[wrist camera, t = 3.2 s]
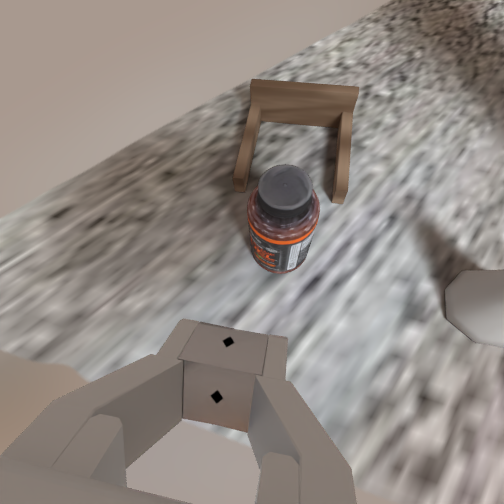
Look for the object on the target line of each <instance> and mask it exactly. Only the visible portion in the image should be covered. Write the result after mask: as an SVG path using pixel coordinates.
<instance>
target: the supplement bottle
mask: <svg viewBox="0 0 504 504" xmlns="http://www.w3.org/2000/svg"><path fill="white" fill-rule="evenodd" d="M319 212H320V204H319V199H318V197H317V195H316V193H315V192H314V190H313V185H312V181H311V179H310V177H309V175H308V174H307V173H306V172H305V171H304V170H303V169H300V168H299V167H296V166H294V165H286V164H285V165H277V166H274V167H272V168H270V169H268V170H267V171H266V172H265V173H264V174H263V175H262V176H261V178H260V180H259V183H258V186H257V187H256V188H255V189H254V190H253V192H252V193H251V195H250V197H249V200H248V204H247V214H248V224H249V232H250V241H251V248H252V253H253V256H254V258H255V260H256V262H257V263H258V264H259V265H260V266H261V267H262V268H264V269H265V270H267V271H270V272H273V273H278V274H281V273H287V272H291V271H293V270H295V269H297V268H298V267H299V266H300V265H301V264H302V263H303V262H304V260H305V258H306V256H307V253H308V250H309V247H310V244H311V240H312V237H313V234H314V231H315V228H316V225H317V222H318V218H319Z"/></svg>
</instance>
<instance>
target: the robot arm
mask: <svg viewBox="0 0 504 504" xmlns="http://www.w3.org/2000/svg"><path fill="white" fill-rule="evenodd" d="M268 336H269V338H268ZM287 346H288V338H287V337H283V336H276V335H266V334H260V333H255V332H249V331H243V330H237V329H234V328H229V327H224V326H219V325H214V324H209V323H204V322H199V321H194V320H188V319H182V320H180V321H179V322H178V324H177V325H176V327H175V328H174V330H173V331H172V333H171V334H170V336H169V337H168V339H167V340H166V342H165V343H164V344H163V346H162V347H161V349H160V350H159V352H158V353H157V355H153V354H150V355H148V356H146V357H144V358H142V359H140V360H138V361H136V362H133V363H131V364H129V365H127V366H125V367H123V368H121V369H119V370H117V371H114V372H112V373H110V374H108V375H106V376H104V377H102V378H100V379H98V380H96V381H93V382H91V383H89V384H87V385H85V386H83V387H81V388H79V389H77V390H75V391H72V392H70V393H68V394H66V395H64V396H62V397H60V398H58V399H56V400H53V401H52V402H51V403H50V404H49V405H48V406H47V407H46V408H45V409H44V410H43V411H42V412H41V413H40V415H39V416H38V417H37V418H36V419H35V420H34V421H33V422H32V423H31V424H30V425H29V426H28V427H27V428H26V429H25V430H24V431H23V432H22V433H21V435H19V436H18V438H16V440H15V441H14V442H13V443H12V444H11V445H10V446H9V447H8V448H7V449H6V450H5V451H4V452H3V453H2V454H1V455H0V504H191V503H187V502H183V501H179V500H175V499H171V498H167V497H163V496H159V495H155V494H151V493H147V492H142V491H139V490H134V489H131V488H127V485H126V484H127V483H126V468H127V467H129V466H130V465H131V464H132V463H133V462H134V461H136V460H137V459H138V458H139V457H140V456H141V455H142V454H144V453H145V452H146V451H147V450H148V449H149V448H151V447H152V446H153V445H154V444H155V443H156V442H157V441H159V440H160V439H161V438H162V437H163V436H164V435H166V434H167V433H168V432H169V431H170V430H171V429H172V428H173V427H175V426H176V425H177V424H178V423H179V422H180V421H182V418H183V419H188V420H193V421H199V422H204V423H209V424H215V425H219V426H223V427H227V428H231V429H235V430H239V431H243V432H247V433H248V434H247V435H248V438H249V440H250V443H251V446H252V449H253V452H254V455H255V457H256V460H257V463H258V466H259V469H260V476H259V482H258V488H257V493H256V499H255V504H357V503H356V496H355V489H354V483H353V476H352V469H351V467H350V466H349V464H348V463H347V461H346V460H345V458H344V457H343V456H342V454H341V453H340V451H339V450H338V448H337V447H336V446H335V444H334V443H333V441H332V440H331V438H330V437H329V436H328V434H327V433H326V431H325V430H324V428H323V427H322V426H321V424H320V423H319V421H318V420H317V418H316V417H315V415H314V414H313V413H312V411H311V410H310V408H309V407H308V405H307V404H306V403H305V401H304V400H303V398H302V397H301V395H300V394H299V393H298V391H297V390H296V388H295V387H294V385H293V384H292V383H291V382H290V381H285V376H286V361H287Z"/></svg>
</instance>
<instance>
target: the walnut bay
mask: <svg viewBox="0 0 504 504" xmlns="http://www.w3.org/2000/svg"><path fill="white" fill-rule="evenodd" d="M250 93H251V107H250V111H249V115H248V119H247V123H246V127H245V131H244V134H243V138H242V142H241V146H240V150H239V154H238V158H237V162H236V166H235V170H234V174H233V183H234V189H235V191H238V192H245V190H246V186H247V181H248V177H249V172H250V168H251V164H252V159H253V155H254V150H255V146H256V142H257V137H258V133H259V128H260V124H261V121H266V122H277V123H288V124H299V125H310V126H321V127H332V128H338V137H337V149H336V160H335V171H334V183H333V194H332V203H338V204H343V202H344V199H345V197H346V194H347V192H348V181H349V165H350V150H351V134H352V119H353V111H354V107H355V104H356V101H357V98H358V94H359V87H355V86H342V85H328V84H315V83H301V82H288V81H274V80H261V79H252V80H251V84H250Z"/></svg>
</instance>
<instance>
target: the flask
mask: <svg viewBox="0 0 504 504" xmlns="http://www.w3.org/2000/svg"><path fill="white" fill-rule="evenodd" d="M445 300H446V316H447V320H448V321H450V322H451V323H452V324H453V325H454V326H456V327H457V328H458V329H459V330H460V331H462V332H463V333H464V334H465V335H466V336H468V337H469V338H470V339H471V340H472V341H474V342H475V343H480V344H486V345H491V346H497V347H503V348H504V270H467V271H461V272H460V273H459V274H458V276H457V277H456V278H455V279H454V280H453V281H452V282H451V283H450V285H449V286H448V287H447V288H446V289H445Z"/></svg>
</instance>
